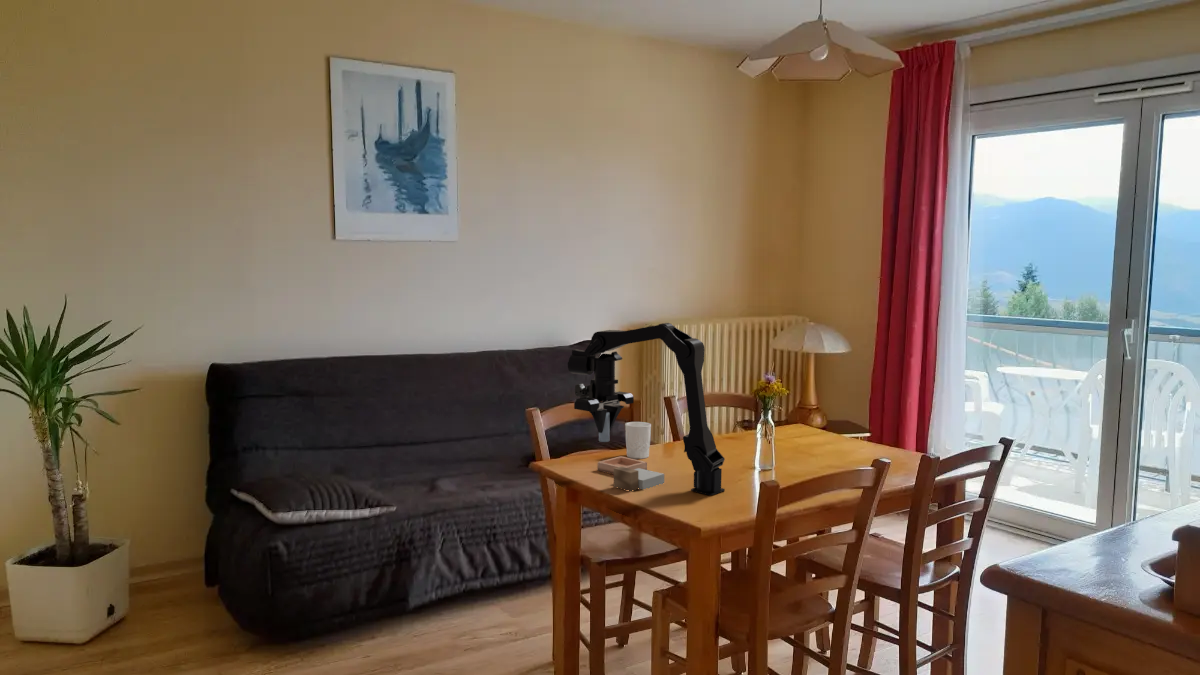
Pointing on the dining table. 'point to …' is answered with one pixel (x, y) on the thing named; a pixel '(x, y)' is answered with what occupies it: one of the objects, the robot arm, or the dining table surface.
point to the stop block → (626, 478)
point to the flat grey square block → (649, 478)
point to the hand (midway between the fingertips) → (604, 431)
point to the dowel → (605, 430)
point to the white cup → (638, 439)
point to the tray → (620, 464)
